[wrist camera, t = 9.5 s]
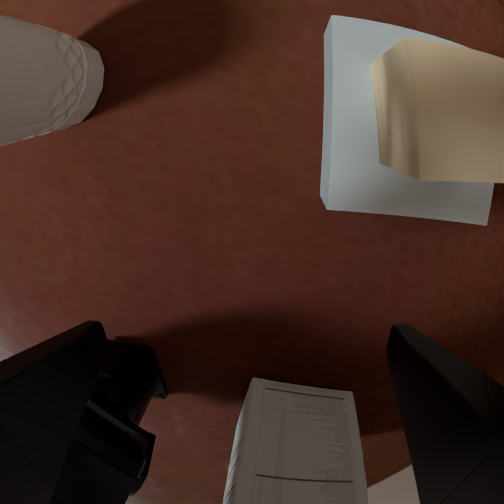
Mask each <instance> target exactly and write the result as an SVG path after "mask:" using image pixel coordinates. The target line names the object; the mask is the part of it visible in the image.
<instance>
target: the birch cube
mask: <svg viewBox="0 0 504 504" xmlns="http://www.w3.org/2000/svg"><path fill="white" fill-rule="evenodd" d="M370 67H371V75H372V82H373V90H374V99H375V108H376V119H377V131H378V146H379V164H381V165H384V166H386V167H389V168H391V169H393V170H396V171H398V172H400V173H403V174H405V175H407V176H410V177H412V178H414V179H416V180H418V181H458V182H489V183H504V58H500V57H497V56H494V55H491V54H487V53H484V52H480V51H476V50H472V49H468V48H464V47H460V46H455V45H451V44H446V43H441V42H435V41H429V40H423V39H417V38H409V37H406V38H404V39H403V40H402V41H400V42H399V43H397V44H396V45H395V46H393V47H392V48H391V49H389V50H388V51H387V52H385V53H384V54H383V55H381V56H380V57H379V58H378V59H376V60H375V61H374V62H372V63H371V64H370Z"/></svg>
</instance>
